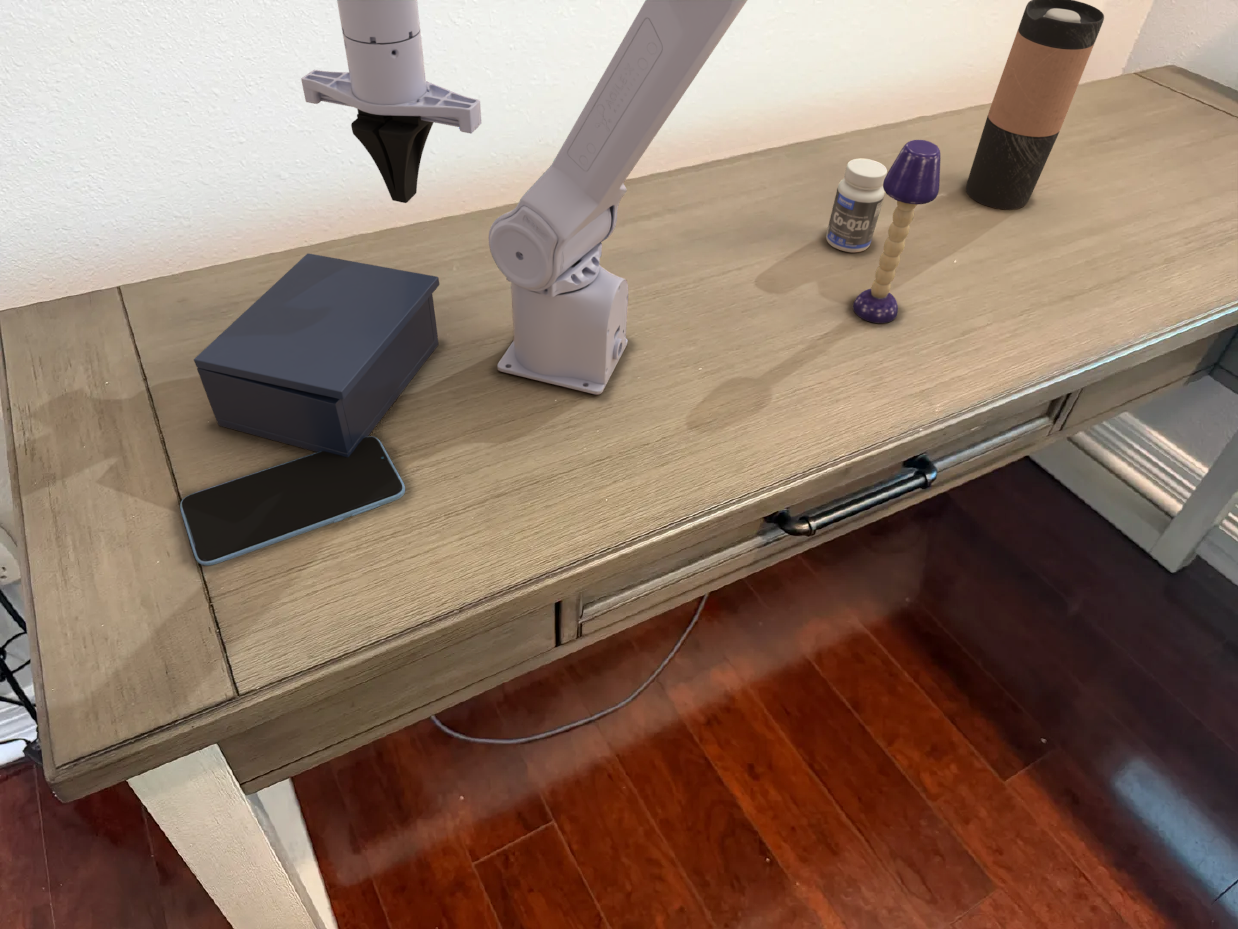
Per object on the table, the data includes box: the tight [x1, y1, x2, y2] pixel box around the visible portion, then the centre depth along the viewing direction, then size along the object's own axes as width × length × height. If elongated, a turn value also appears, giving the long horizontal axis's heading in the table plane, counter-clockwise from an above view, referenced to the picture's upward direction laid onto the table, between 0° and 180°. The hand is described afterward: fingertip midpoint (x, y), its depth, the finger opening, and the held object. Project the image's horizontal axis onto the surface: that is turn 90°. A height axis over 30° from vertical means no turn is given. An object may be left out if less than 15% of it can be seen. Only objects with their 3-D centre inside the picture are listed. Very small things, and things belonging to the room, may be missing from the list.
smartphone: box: [179, 435, 406, 566], centre depth 66 cm, size 7×1×15 cm
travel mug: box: [965, 0, 1105, 210], centre depth 96 cm, size 8×8×20 cm
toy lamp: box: [852, 139, 941, 324], centre depth 79 cm, size 5×5×17 cm
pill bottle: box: [825, 157, 888, 253], centre depth 91 cm, size 5×5×8 cm
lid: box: [193, 252, 440, 400], centre depth 70 cm, size 12×16×1 cm
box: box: [196, 293, 439, 457], centre depth 73 cm, size 12×16×6 cm
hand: (404, 196), depth 76 cm, fingers closed
